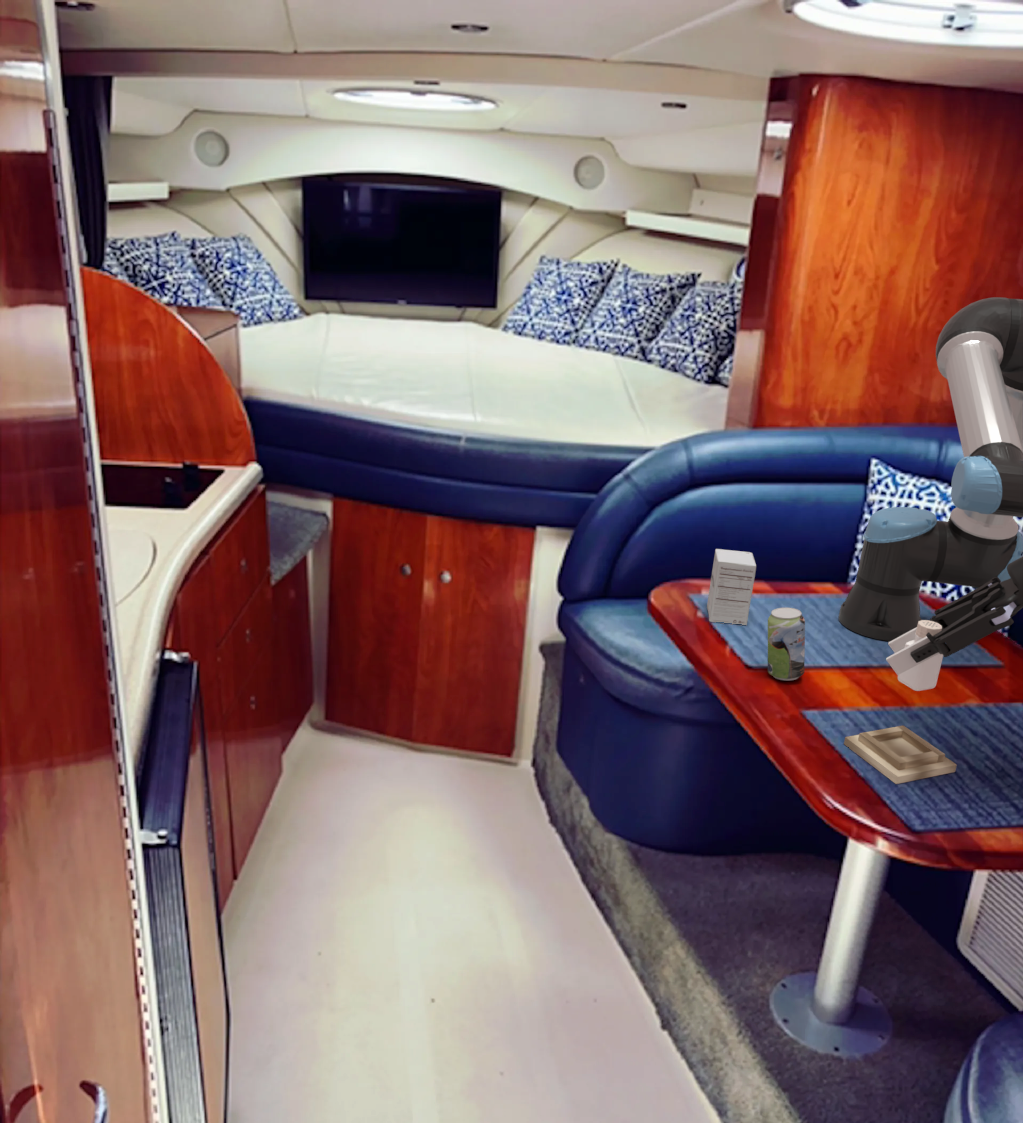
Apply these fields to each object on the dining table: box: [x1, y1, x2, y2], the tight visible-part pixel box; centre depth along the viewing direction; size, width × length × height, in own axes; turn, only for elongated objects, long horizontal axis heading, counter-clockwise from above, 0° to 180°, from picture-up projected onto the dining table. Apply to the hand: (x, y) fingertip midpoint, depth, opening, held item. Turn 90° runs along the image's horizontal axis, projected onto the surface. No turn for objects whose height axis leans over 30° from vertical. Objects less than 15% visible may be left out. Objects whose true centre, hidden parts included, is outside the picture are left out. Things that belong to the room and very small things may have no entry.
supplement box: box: [706, 548, 757, 626], centre depth 186 cm, size 7×7×13 cm
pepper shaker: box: [897, 619, 944, 692], centre depth 137 cm, size 4×4×10 cm
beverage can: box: [767, 607, 806, 682], centre depth 163 cm, size 6×7×12 cm
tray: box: [843, 725, 958, 785], centre depth 142 cm, size 11×11×2 cm
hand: (893, 658), depth 138 cm, fingers closed on pepper shaker, 5 cm apart
